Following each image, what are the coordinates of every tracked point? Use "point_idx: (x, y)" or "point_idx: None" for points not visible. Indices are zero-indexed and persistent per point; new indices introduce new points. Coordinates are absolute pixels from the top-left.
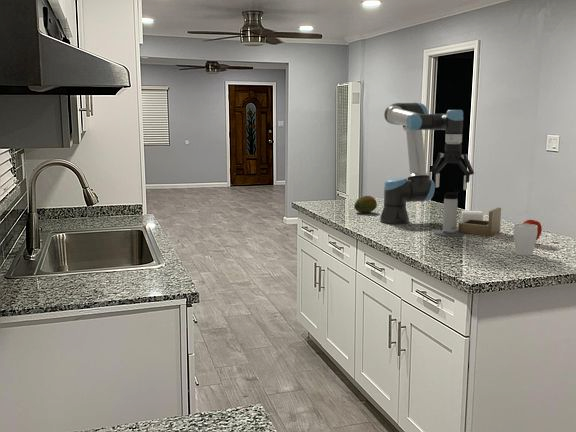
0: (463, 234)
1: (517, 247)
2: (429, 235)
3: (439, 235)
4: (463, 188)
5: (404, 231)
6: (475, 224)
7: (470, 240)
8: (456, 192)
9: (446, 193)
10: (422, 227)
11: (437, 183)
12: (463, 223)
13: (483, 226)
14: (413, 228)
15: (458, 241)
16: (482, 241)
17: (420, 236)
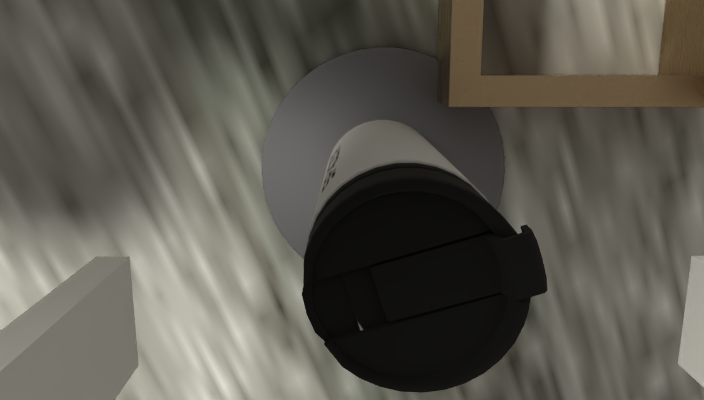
0: (501, 170)
1: None
2: (276, 310)
3: None
4: (693, 375)
5: (48, 275)
6: (607, 88)
7: (596, 312)
8: (513, 297)
9: (326, 276)
10: (75, 22)
11: (105, 387)
12: (493, 101)
13: (685, 106)
14: (38, 114)
15: (530, 390)
16: (681, 298)
17: (237, 379)
